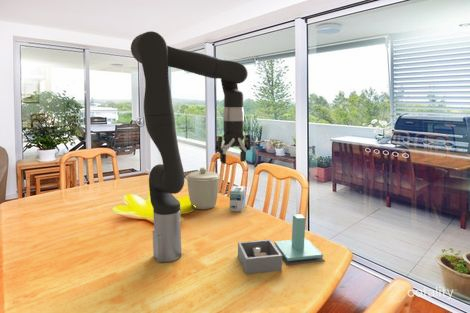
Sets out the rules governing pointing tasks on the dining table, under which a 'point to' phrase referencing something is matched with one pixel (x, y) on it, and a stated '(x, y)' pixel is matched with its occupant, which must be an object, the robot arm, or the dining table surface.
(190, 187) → the canister
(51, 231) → the dining table surface
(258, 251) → the metal spool
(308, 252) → the lid
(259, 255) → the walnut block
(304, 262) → the mat
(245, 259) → the tub
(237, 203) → the light bulb box
